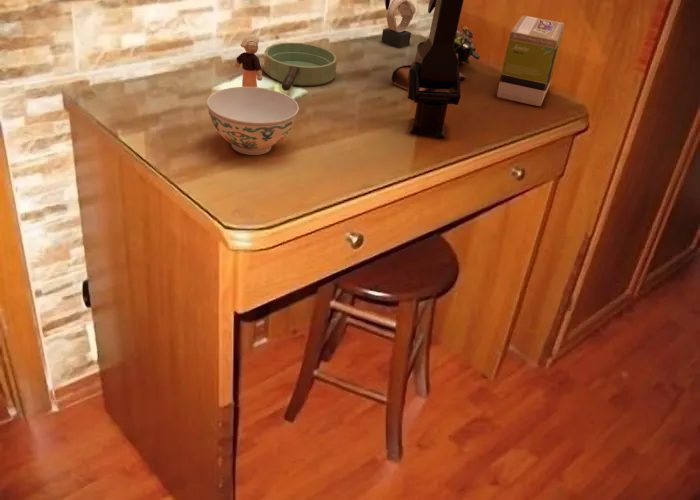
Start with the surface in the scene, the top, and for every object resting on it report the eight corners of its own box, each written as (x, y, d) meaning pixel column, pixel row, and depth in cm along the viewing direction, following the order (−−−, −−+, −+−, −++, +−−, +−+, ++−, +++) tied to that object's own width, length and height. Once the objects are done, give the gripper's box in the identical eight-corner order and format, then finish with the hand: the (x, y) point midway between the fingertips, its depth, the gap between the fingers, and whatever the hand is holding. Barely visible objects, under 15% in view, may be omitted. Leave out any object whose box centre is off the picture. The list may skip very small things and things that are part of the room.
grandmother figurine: (270, 102, 141) (273, 38, 135) (257, 108, 139) (260, 42, 132) (240, 91, 145) (242, 27, 138) (227, 95, 142) (228, 31, 135)
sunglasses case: (421, 93, 153) (413, 62, 152) (396, 100, 158) (388, 70, 157) (468, 77, 165) (461, 48, 164) (443, 84, 170) (436, 55, 169)
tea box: (506, 77, 170) (522, 13, 162) (549, 86, 168) (567, 22, 160) (494, 97, 158) (510, 29, 150) (541, 108, 155) (559, 39, 147)
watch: (413, 43, 183) (420, -1, 177) (394, 49, 178) (401, 3, 172) (395, 37, 186) (402, -7, 180) (376, 42, 180) (382, -3, 174)
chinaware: (247, 120, 133) (249, 80, 129) (312, 147, 127) (316, 106, 123) (187, 144, 123) (187, 101, 118) (255, 175, 116) (257, 131, 112)
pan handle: (289, 92, 140) (290, 84, 139) (280, 91, 140) (281, 82, 139) (299, 74, 149) (299, 65, 148) (290, 72, 149) (291, 64, 148)
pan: (330, 91, 150) (332, 71, 148) (257, 80, 150) (258, 60, 148) (338, 67, 163) (340, 48, 160) (271, 57, 163) (272, 38, 161)
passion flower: (455, 85, 177) (491, 53, 169) (429, 85, 169) (466, 52, 161) (433, 47, 179) (468, 14, 172) (407, 45, 171) (442, 11, 164)
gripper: (457, -75, 152) (441, -2, 162) (369, -84, 148) (359, -8, 158) (471, -56, 143) (453, 20, 154) (378, -65, 140) (366, 13, 150)
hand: (408, 10), depth 154 cm, fingers open, 9 cm apart
